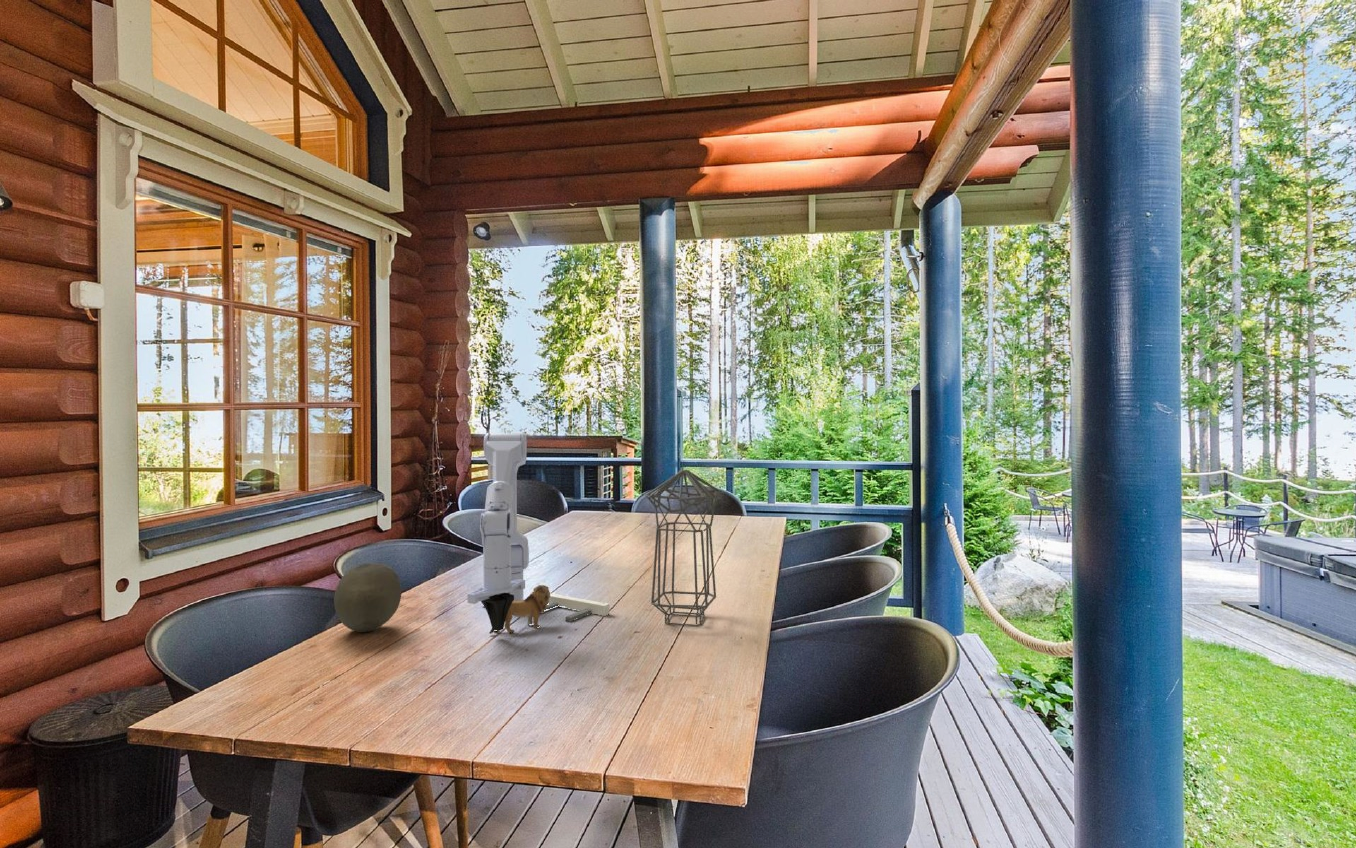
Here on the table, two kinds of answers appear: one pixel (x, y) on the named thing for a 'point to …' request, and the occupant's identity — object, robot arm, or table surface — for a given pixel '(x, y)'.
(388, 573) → the cantaloupe
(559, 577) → the table surface
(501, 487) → the robot arm
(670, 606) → the geometric lantern
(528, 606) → the lion figurine
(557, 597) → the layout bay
